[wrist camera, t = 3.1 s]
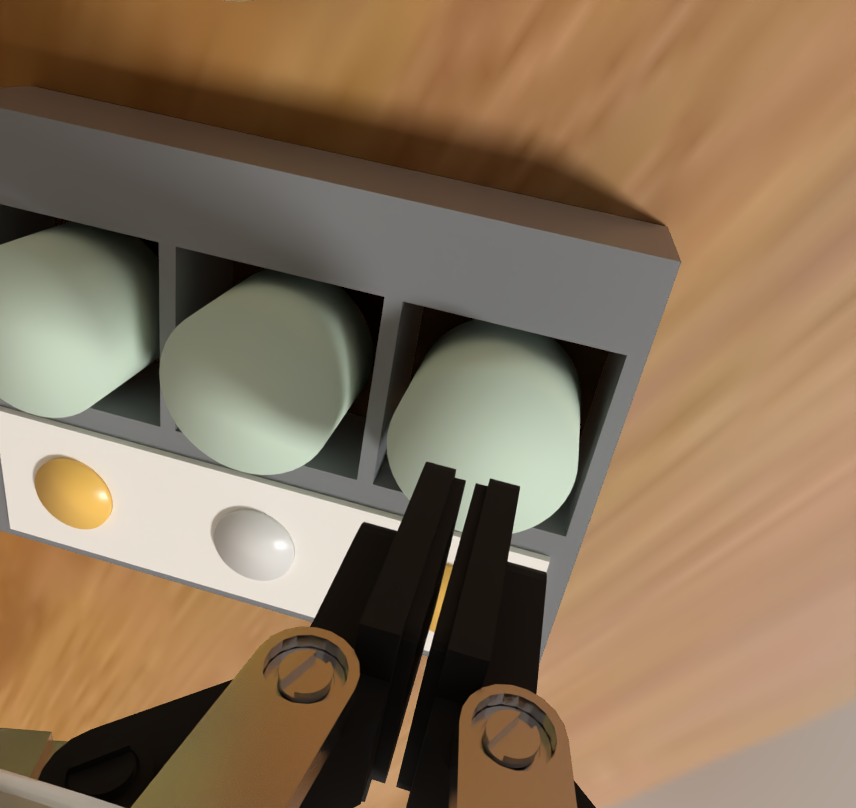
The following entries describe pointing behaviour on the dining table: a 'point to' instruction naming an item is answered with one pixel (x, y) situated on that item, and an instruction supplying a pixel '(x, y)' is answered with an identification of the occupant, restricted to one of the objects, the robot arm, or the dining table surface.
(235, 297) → the middle button
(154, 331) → the end button
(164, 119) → the button board
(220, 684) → the robot arm
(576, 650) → the dining table surface
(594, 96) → the dining table surface
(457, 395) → the end button
